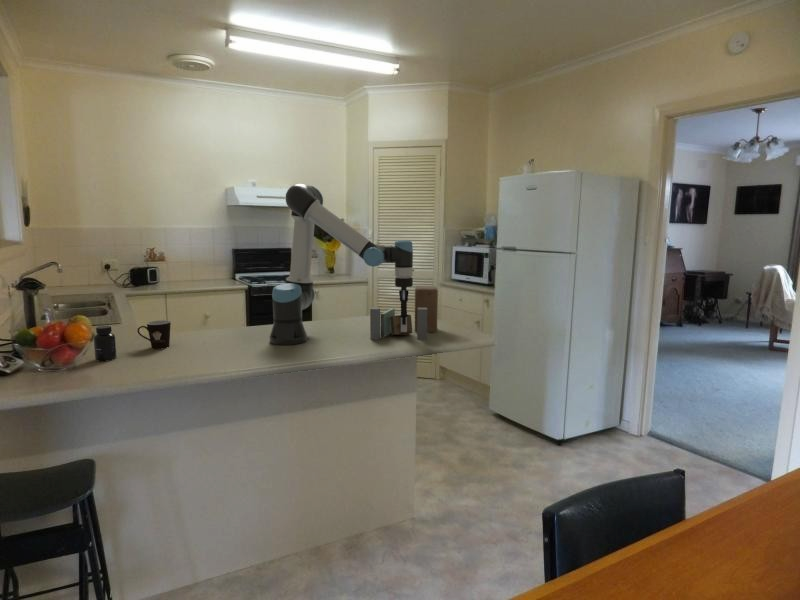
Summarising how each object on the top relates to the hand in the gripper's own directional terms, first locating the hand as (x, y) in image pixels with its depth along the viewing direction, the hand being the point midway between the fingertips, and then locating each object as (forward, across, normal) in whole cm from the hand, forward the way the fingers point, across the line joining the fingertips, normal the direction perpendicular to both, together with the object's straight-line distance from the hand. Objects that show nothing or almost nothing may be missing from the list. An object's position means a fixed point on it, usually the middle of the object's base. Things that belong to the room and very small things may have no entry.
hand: (403, 331), depth 220 cm
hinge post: (+3, -2, +12) cm, 13 cm away
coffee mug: (+2, -19, +98) cm, 100 cm away
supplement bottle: (+3, -37, +108) cm, 114 cm away
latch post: (+3, -2, -8) cm, 8 cm away
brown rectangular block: (+2, +3, +1) cm, 4 cm away
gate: (+2, +5, +7) cm, 9 cm away
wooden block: (+3, +14, -10) cm, 17 cm away
